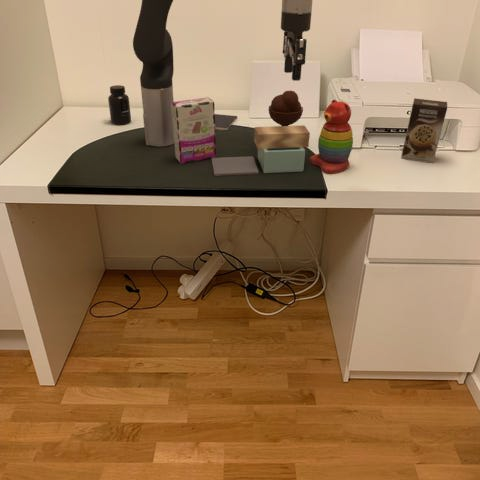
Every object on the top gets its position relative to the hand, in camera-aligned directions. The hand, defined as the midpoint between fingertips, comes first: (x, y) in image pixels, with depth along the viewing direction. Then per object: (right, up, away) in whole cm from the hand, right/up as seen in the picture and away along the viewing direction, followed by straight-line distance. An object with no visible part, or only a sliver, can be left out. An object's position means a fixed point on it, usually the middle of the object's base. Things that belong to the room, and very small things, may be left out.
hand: (292, 76), depth 126 cm
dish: (-3, -23, +6) cm, 24 cm away
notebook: (-27, -4, +37) cm, 46 cm away
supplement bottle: (-55, -4, +35) cm, 66 cm away
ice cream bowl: (0, -11, +24) cm, 27 cm away
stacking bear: (+12, -23, +6) cm, 27 cm away
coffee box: (+38, -20, +12) cm, 45 cm away
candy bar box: (-27, -20, +10) cm, 35 cm away
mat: (-16, -24, +4) cm, 29 cm away
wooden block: (-3, -18, +3) cm, 18 cm away
